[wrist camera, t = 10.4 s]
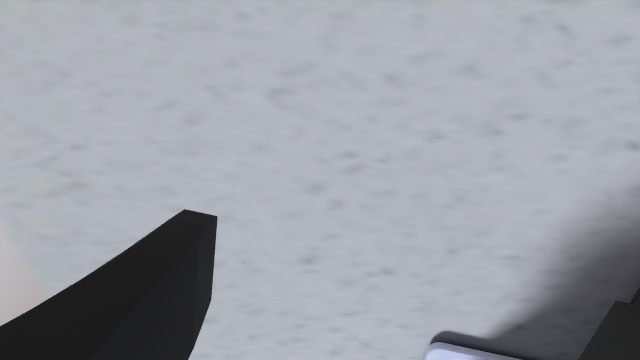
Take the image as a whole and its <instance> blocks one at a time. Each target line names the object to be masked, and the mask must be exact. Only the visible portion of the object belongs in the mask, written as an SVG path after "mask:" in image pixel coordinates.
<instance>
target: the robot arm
mask: <svg viewBox="0 0 640 360" xmlns="http://www.w3.org/2000/svg"><path fill="white" fill-rule="evenodd" d="M216 229H217V216H214V215H209V214H204V213H200V212H195V211H190V210H185V209H184V210H183V211H181V212H180V213H178V214H177V215H175V216H174V217H172V218H171V219H169V220H168V221H166V222H165V223H164V224H162V225H161V226H159V227H158V228H157V229H155V230H154V231H152V232H151V233H149V234H148V235H147V236H145V237H144V238H142V239H141V240H139V241H138V242H137V243H135V244H134V245H132V246H131V247H129V248H128V249H127V250H125V251H124V252H122V253H121V254H119V255H118V256H116V257H114V258H113V259H111V260H110V261H108V262H107V263H105V264H104V265H102V266H101V267H99V268H98V269H96V270H95V271H93V272H92V273H90V274H89V275H87V276H86V277H84V278H82V279H81V280H79V281H78V282H76V283H74V284H73V285H71V286H69V287H68V288H66V289H64V290H63V291H61V292H59V293H58V294H56V295H54V296H53V297H51V298H49V299H48V300H46V301H44V302H43V303H41V304H40V305H38V306H36V307H34V308H33V309H31V310H29V311H27V312H25V313H24V314H22V315H20V316H18V317H17V318H15V319H13V320H11V321H9V322H7V323H5V324H4V325H2V326H0V360H188V358H189V356H190V354H191V352H192V350H193V348H194V345H195V343H196V340H197V337H198V335H199V332H200V329H201V327H202V324H203V321H204V318H205V316H206V313H207V310H208V307H209V304H210V302H211V295H212V282H213V269H214V255H215V242H216ZM423 360H521V359H516V358H512V357H507V356H502V355H498V354H493V353H488V352H484V351H479V350H474V349H470V348H465V347H461V346H456V345H451V344H447V343H442V342H436V343H433V344H431V345H430V346H429V347H428V349H427V351H426V354H425V356H424V359H423ZM579 360H640V306H638V305H634V304H629V303H624V302H619V301H615V303H614V305H613V306H612V308H611V309H610V311H609V312H608V314H607V316H606V317H605V319H604V320H603V322H602V324H601V325H600V327H599V328H598V330H597V331H596V333H595V335H594V336H593V338H592V339H591V341H590V342H589V344H588V346H587V347H586V349H585V350H584V352H583V354H582V355H581V357H580V358H579Z"/></svg>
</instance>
